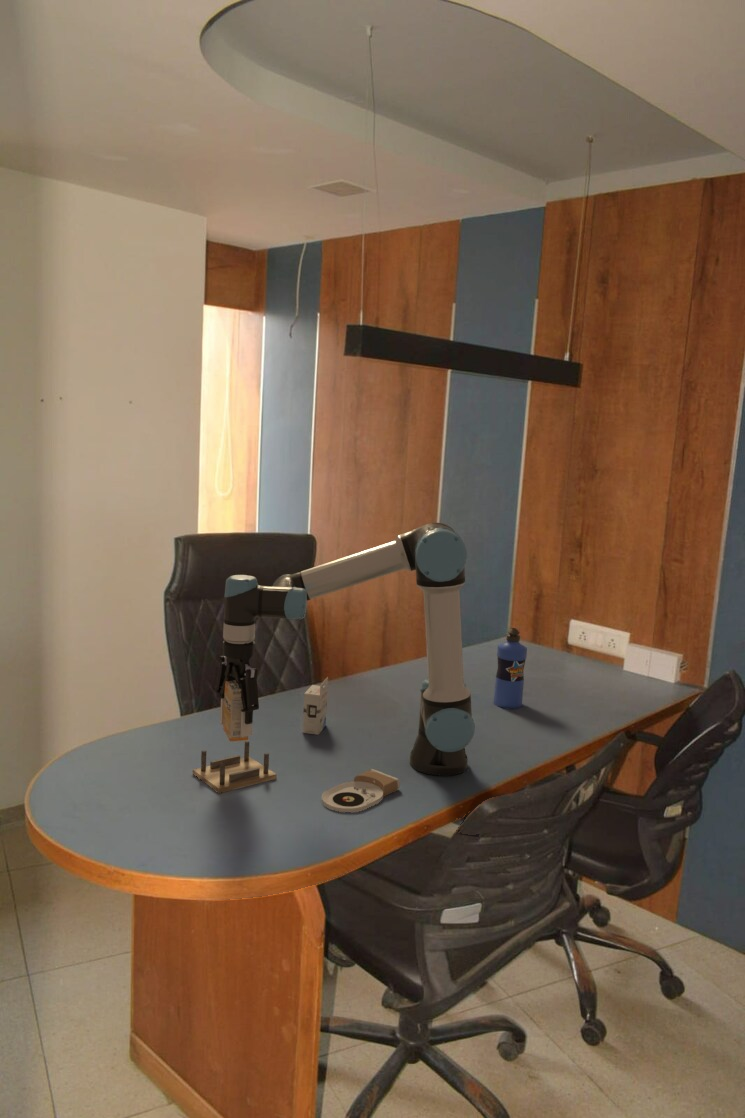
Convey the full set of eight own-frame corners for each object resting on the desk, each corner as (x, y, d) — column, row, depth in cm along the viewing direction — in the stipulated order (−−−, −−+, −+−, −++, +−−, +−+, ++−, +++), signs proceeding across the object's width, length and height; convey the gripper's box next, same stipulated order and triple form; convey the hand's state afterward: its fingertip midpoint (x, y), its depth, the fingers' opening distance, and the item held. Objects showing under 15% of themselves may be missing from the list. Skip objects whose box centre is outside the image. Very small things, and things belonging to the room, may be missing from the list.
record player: (403, 780, 215) (349, 807, 200) (403, 792, 215) (348, 819, 200) (366, 766, 222) (311, 790, 207) (366, 778, 223) (311, 803, 208)
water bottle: (527, 707, 284) (534, 631, 280) (502, 709, 280) (508, 632, 276) (512, 698, 292) (519, 624, 288) (487, 700, 289) (493, 625, 285)
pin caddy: (276, 778, 219) (277, 754, 218) (218, 793, 208) (219, 768, 207) (248, 761, 228) (249, 738, 227) (192, 774, 218) (193, 750, 217)
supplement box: (222, 730, 220) (223, 679, 218) (241, 728, 221) (243, 678, 219) (228, 742, 212) (230, 689, 210) (248, 740, 214) (250, 688, 212)
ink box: (310, 723, 259) (312, 674, 256) (326, 725, 258) (328, 676, 255) (301, 733, 250) (304, 682, 248) (318, 735, 249) (321, 684, 247)
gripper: (276, 648, 207) (272, 740, 211) (229, 628, 223) (226, 713, 227) (249, 652, 202) (245, 746, 206) (203, 631, 219) (200, 718, 222)
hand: (235, 729), depth 216 cm, fingers closed on supplement box, 9 cm apart
